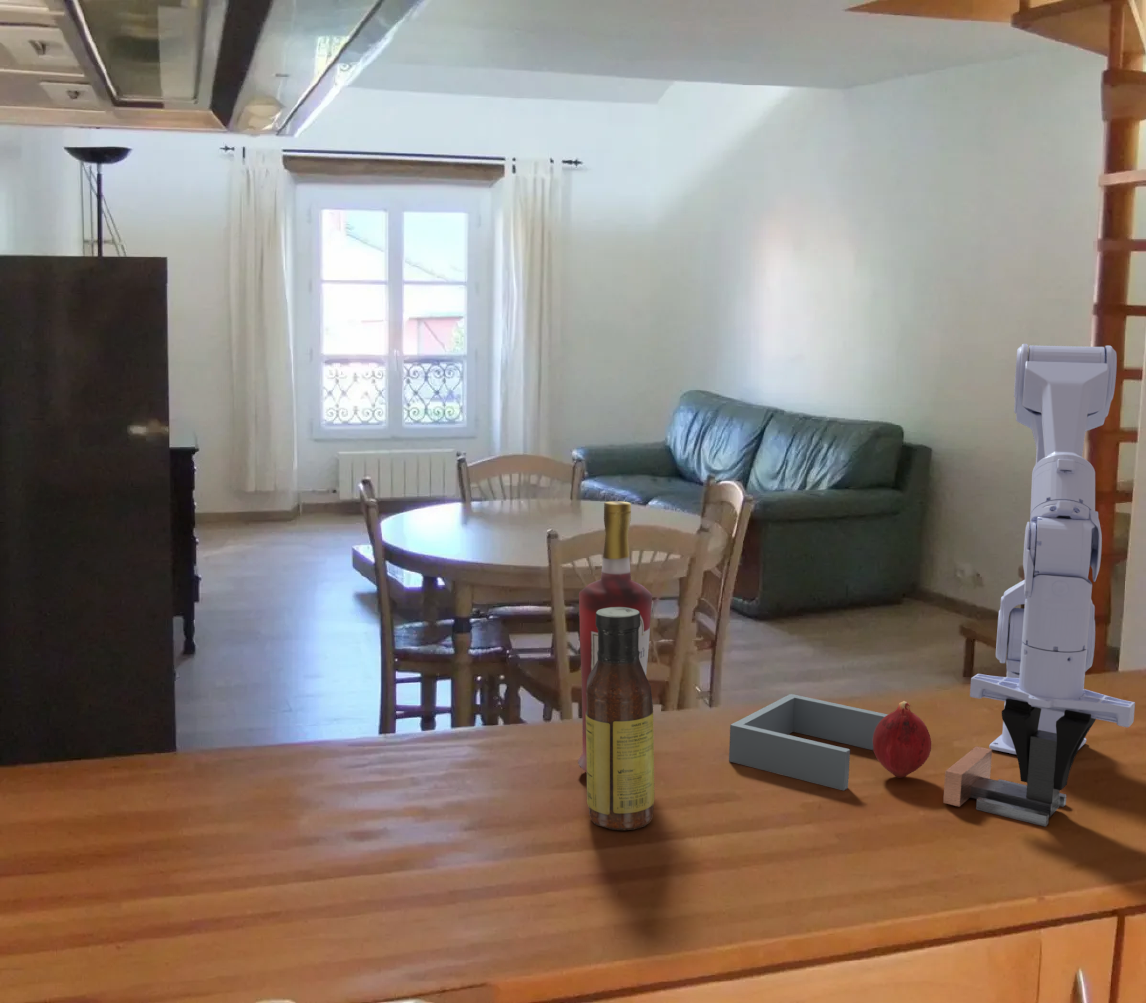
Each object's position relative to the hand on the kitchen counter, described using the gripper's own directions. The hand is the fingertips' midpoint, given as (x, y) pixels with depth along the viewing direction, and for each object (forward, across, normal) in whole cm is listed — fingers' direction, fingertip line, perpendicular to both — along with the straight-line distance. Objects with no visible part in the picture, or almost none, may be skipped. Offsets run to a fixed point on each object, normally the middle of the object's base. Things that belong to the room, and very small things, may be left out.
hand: (1043, 782), depth 118 cm
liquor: (+3, -38, -18) cm, 42 cm away
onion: (+3, -14, 0) cm, 14 cm away
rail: (+3, -2, 0) cm, 3 cm away
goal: (+3, -23, 0) cm, 23 cm away
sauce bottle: (+3, -31, -27) cm, 41 cm away
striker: (+3, -3, 0) cm, 4 cm away
